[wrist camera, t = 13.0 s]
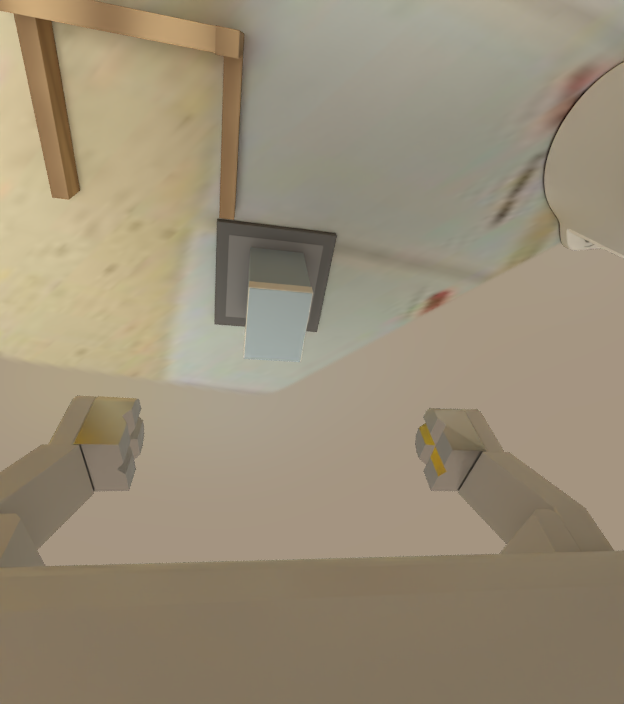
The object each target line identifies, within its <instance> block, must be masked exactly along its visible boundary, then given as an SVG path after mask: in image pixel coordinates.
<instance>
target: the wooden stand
mask: <svg viewBox="0 0 624 704" xmlns="http://www.w3.org/2000/svg"><path fill="white" fill-rule="evenodd" d="M0 11H5V12H10V13H14V18H15V22H16V27H17V32H18V37H19V41H20V46H21V51H22V56H23V60H24V65H25V70H26V75H27V79H28V84H29V89H30V94H31V99H32V103H33V108H34V113H35V118H36V122H37V127H38V132H39V137H40V141H41V146H42V151H43V156H44V160H45V165H46V170H47V175H48V179H49V184H50V189H51V194H52V197H53V198H61V199H70V198H71V197H73V196H74V195H75V194H76V193H77V192H79V191H80V188H79V182H78V176H77V170H76V164H75V158H74V152H73V146H72V140H71V134H70V129H69V123H68V117H67V111H66V105H65V99H64V93H63V87H62V81H61V75H60V69H59V64H58V58H57V52H56V46H55V40H54V34H53V28H52V22H51V21H56V22H61V23H66V24H71V25H76V26H81V27H86V28H91V29H97V30H102V31H107V32H112V33H117V34H122V35H127V36H132V37H137V38H142V39H147V40H153V41H158V42H163V43H168V44H173V45H178V46H183V47H188V48H193V49H198V50H203V51H209V52H214V53H215V54H217V55H222V56H224V74H223V109H222V144H221V179H220V214H219V218H223V219H231V220H234V215H235V203H236V183H237V164H238V144H239V125H240V105H241V85H242V66H243V46H244V33H242V32H241V31H239V30H235V29H230V28H225V27H220V26H213V25H208V24H203V23H199V22H194V21H189V20H184V19H179V18H175V17H170V16H165V15H160V14H155V13H151V12H146V11H141V10H136V9H131V8H127V7H122V6H117V5H112V4H107V3H102V2H98V1H93V0H0Z"/></svg>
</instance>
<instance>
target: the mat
mask: <svg viewBox="0 0 624 704" xmlns="http://www.w3.org/2000/svg"><path fill="white" fill-rule="evenodd" d="M336 237H337V235H336V234H335V233H327V232H319V231H311V230H303V229H295V228H286V227H278V226H270V225H262V224H254V223H246V222H238V221H229V220H221V219H218V220H217V248H216V287H215V324H218V325H231V326H245V322H246V304H247V290H248V277H249V263H250V250H251V247H254V248H263V249H272V250H282V251H291V252H300V253H304V258H305V262H306V267H307V271H308V276H309V281H310V285H311V287H312V290H313V296H312V301H311V307H310V312H309V318H308V323H307V329H306V331H310V332H317V329H318V324H319V319H320V315H321V310H322V305H323V300H324V295H325V290H326V286H327V281H328V276H329V271H330V266H331V261H332V256H333V252H334V247H335V242H336Z"/></svg>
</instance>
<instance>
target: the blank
mask: <svg viewBox="0 0 624 704" xmlns="http://www.w3.org/2000/svg"><path fill="white" fill-rule="evenodd" d="M312 296H313V290H312V287H311V285H310V281H309V276H308V271H307V267H306V262H305V258H304V253H300V252H291V251H282V250H272V249H263V248H254V247H251V250H250V263H249V277H248V290H247V304H246V322H245V342H244V357H243V358H244V359H257V360H274V361H291V362H301V356H302V351H303V345H304V340H305V334H306V329H307V323H308V318H309V312H310V307H311V301H312Z"/></svg>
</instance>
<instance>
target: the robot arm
mask: <svg viewBox="0 0 624 704" xmlns="http://www.w3.org/2000/svg"><path fill="white" fill-rule="evenodd" d="M544 186H545V193H546V198H547V201H548V203H549V206H550V208H551V209H552V211H553V212H554V214H555V215H556V217H557V218H558V220H559V223H560V237H561V243H562V245H563V246H564V247H566V248H568V249H570V250H574V251H577V250H589V249H601V248H602V249H605V250H607V251H609V252H611V253H613V254H615V255H617V256H619V257H621V258H623V259H624V62H623V63H621V64H619V65H618V66H616V67H615V68H613V69H612V70H610V71H609V72H608V73H606V74H605V75H604V76H603V77H601V78H600V79H599V80H598V81H597V82H596V83H594V84H593V85H592V86H591V87H590V88H589V89H588V90H587V91H586V92H585V93H584V95H583V96H582V97H581V98H580V99H579V100H578V101H577V103H576V104H575V105H574V107H573V108H572V109H571V111H570V112H569V113H568V115H567V116H566V118H565V120H564V121H563V123H562V125H561V126H560V128H559V130H558V132H557V134H556V136H555V138H554V141H553V143H552V146H551V148H550V151H549V154H548V158H547V162H546V167H545V176H544ZM140 411H141V406H140V401H139V399H136V398H118V397H101V396H98V397H94V396H76V397H75V398H74V399H73V400H72V401H71V403H70V405H69V407H68V408H67V410H66V412H65V414H64V416H63V418H62V420H61V422H60V423H59V425H58V427H57V429H56V431H55V433H54V435H53V436H52V438H51V440H50V442H49V444H45V445H44V444H43V445H40V446H39V447H37V448H36V449H34V450H33V451H31V452H30V453H28V454H27V455H25V456H24V457H22V458H21V459H19V460H18V461H16V462H15V463H13V464H12V465H10V466H9V467H7V468H6V469H5V470H3V471H2V472H0V704H624V551H614V550H613V548H612V546H611V545H610V543H609V542H608V541H607V539H606V538H605V536H604V535H603V533H602V532H601V530H600V529H599V527H598V526H597V524H596V523H595V521H594V520H593V518H592V517H591V515H590V514H589V513H588V511H587V510H586V508H585V507H583V506H582V505H581V504H579V503H578V502H577V501H575V500H573V499H572V498H571V497H570V496H568V495H567V494H566V493H564V492H563V491H561V490H560V489H559V488H557V487H556V486H555V485H553V484H552V483H551V482H549V481H548V480H546V479H545V478H543V477H542V476H541V475H540V474H538V473H537V472H536V471H534V470H533V469H531V468H530V467H529V466H527V465H526V464H525V463H523V462H522V461H521V460H519V459H517V458H516V457H515V456H514V455H512V454H511V453H510V452H504V450H503V449H502V447H501V445H500V444H499V442H498V440H497V438H496V437H495V435H494V433H493V432H492V430H491V428H490V427H489V425H488V423H487V422H486V420H485V418H484V416H483V415H482V413H481V412H480V411H479V410H477V409H440V408H429V409H428V410H427V411H426V413H425V415H424V420H425V422H426V423H425V424H423V425H422V426H420V427H419V429H418V431H417V434H416V441H415V445H416V451H417V454H418V457H419V459H420V460H422V461H423V462H424V463H425V464H426V467H425V469H424V473H425V476H426V479H427V481H428V484H429V487H430V490H431V491H459V492H458V493H459V494H460V495H461V497H462V498H463V499H464V500H465V501H466V502H467V503H468V504H469V505H470V506H471V507H472V508H473V509H474V510H475V511H476V512H477V513H478V515H480V517H481V518H482V519H483V520H484V521H485V522H486V523H487V524H488V525H489V526H490V527H491V528H492V529H493V530H494V531H495V532H496V534H497V535H498V536H499V537H500V538H501V539H502V540H503V541H504V542H505V543H506V544H507V545H506V546H505V547H504V549H503V550H502V551H501V552H500V553H499V554H475V555H441V556H439V555H438V556H405V557H404V556H403V557H369V558H368V557H367V558H329V559H293V560H257V561H221V562H183V563H149V564H148V563H146V564H109V565H72V566H45V564H44V562H43V560H42V558H41V556H40V555H39V553H38V551H37V550H38V549H39V548H40V547H41V546H42V545H43V544H44V543H45V542H46V541H47V540H48V539H49V538H50V537H51V536H52V535H53V534H54V533H55V532H56V531H57V530H58V529H59V527H61V526H62V525H63V524H64V523H65V522H66V521H67V520H68V519H69V518H70V517H71V516H72V515H73V514H74V513H75V512H76V511H77V510H78V509H79V508H80V507H81V506H82V505H83V504H84V503H85V502H86V501H87V500H88V499H89V498H90V497H91V496H92V495H93V494H94V491H129V489H130V486H131V483H132V479H133V476H134V473H135V470H136V468H135V462H134V459H135V458H137V457H138V456H139V455H140V453H141V449H142V446H143V439H144V424H143V420H142V419H141V418H140V417H139V414H140Z"/></svg>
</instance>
